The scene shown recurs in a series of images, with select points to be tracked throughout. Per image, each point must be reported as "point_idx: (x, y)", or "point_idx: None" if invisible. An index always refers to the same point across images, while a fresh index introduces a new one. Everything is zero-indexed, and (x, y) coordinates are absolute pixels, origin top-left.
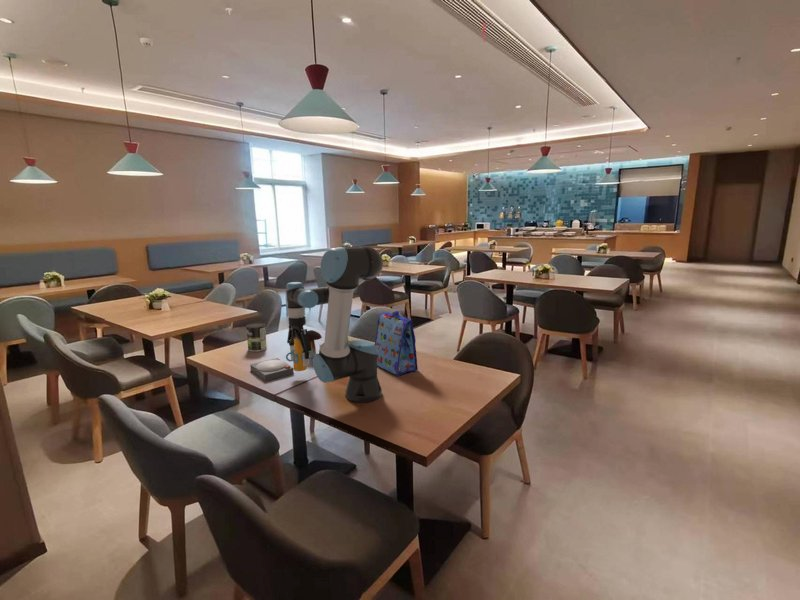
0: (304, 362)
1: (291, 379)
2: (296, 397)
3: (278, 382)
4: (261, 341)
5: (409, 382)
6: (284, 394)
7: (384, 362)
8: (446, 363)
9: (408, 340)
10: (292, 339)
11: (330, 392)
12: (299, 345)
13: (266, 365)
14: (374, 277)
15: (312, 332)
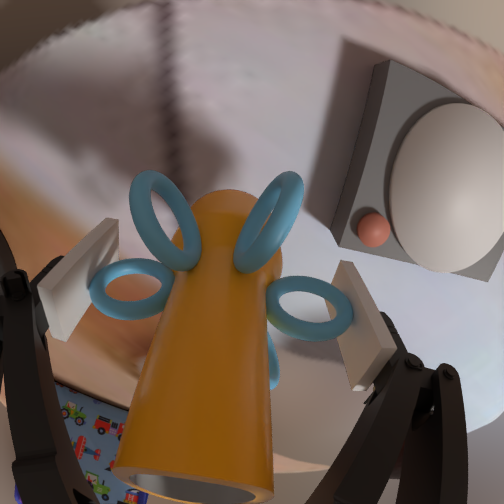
0: (91, 234)
1: (271, 167)
2: (66, 67)
3: (298, 92)
4: None
5: None
6: (129, 33)
7: (86, 416)
8: None
9: None
10: (362, 440)
11: (25, 201)
12: (140, 378)
13: (480, 171)
14: None
15: (398, 474)
